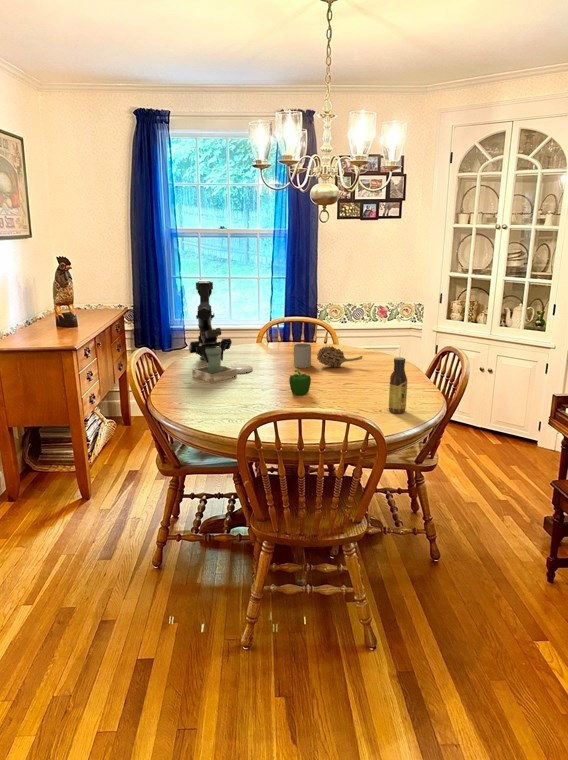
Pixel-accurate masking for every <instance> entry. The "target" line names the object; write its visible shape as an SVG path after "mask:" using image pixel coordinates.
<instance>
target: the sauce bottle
mask: <svg viewBox="0 0 568 760" xmlns="http://www.w3.org/2000/svg"><path fill="white" fill-rule="evenodd" d="M393 363H394V364H393V365H394V366H393V371H392V373H390V377H389V391H388V392H389V393H388V411H389V412H390V413H391V414H403V413H406V408H407V394H408V393H407V392H408V378H407V374H406V371H405V365H406V358H405V357H400V356H399V357H394V358H393Z"/></svg>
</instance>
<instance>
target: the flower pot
mask: <svg viewBox="0 0 568 760" xmlns="http://www.w3.org/2000/svg"><path fill="white" fill-rule="evenodd" d="M205 350H206V354H207V359H208V363H207V362H206V366H207V370H208V373H209V374H216V373H220V372H221V365H222V364H221V363H222V361H221V357H220V354H221V348H220V347H208V348H206V349H205Z"/></svg>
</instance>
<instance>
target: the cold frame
mask: <svg viewBox="0 0 568 760" xmlns="http://www.w3.org/2000/svg"><path fill="white" fill-rule="evenodd" d="M191 372H192V378H194V377H195V379H198V380H201V381H204V380H205V382H207V381H208V382H207V383H210V384H213V383H214V384H215V383H217V381H218V382H222V381H224V380H229V379H232V377H233V378H235V377H234V376H238V374H237V371H236V369H235V368H231V367H229V366H226V365H223V364H221V372H220V373H216V374H209V373H208V370H207V365H205V366H202V367H196V368H193V369H192V371H191ZM228 378H229V379H228ZM221 380H222V381H221Z"/></svg>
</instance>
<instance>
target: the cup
mask: <svg viewBox="0 0 568 760" xmlns="http://www.w3.org/2000/svg"><path fill="white" fill-rule="evenodd" d="M294 366H295V368H297V367H299V369H307V368H306V367H308V368H310V366H311V367H312V344H310V343H295V344H293V367H294Z"/></svg>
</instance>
